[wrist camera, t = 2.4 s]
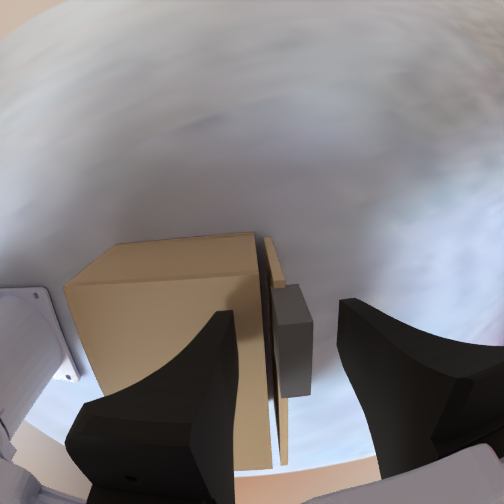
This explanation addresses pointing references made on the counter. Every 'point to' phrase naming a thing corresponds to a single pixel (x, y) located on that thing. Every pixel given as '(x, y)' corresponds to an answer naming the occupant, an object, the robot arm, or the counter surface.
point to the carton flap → (287, 343)
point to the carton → (176, 319)
